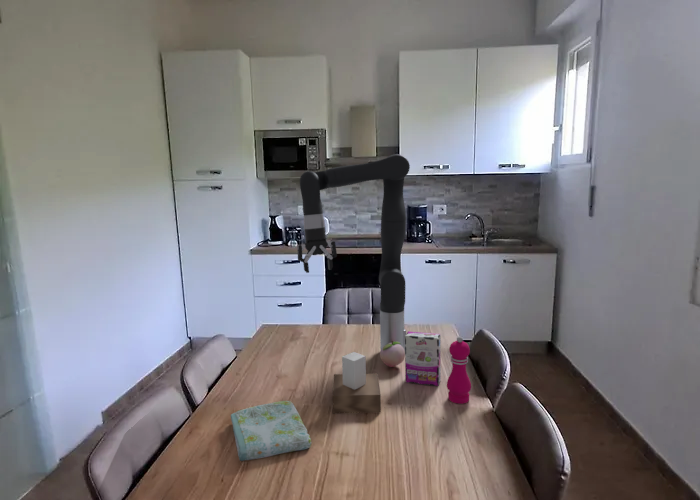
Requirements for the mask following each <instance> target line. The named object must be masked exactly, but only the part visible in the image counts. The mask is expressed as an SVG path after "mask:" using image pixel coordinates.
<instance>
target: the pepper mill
mask: <svg viewBox="0 0 700 500" xmlns="http://www.w3.org/2000/svg"><path fill="white" fill-rule="evenodd" d="M448 350H449V353H450V355H451V356H450V362H451V363H452V368H451V372H450V373H449V375H448V378H447V381H446V387H447V390H448V393H447V395H448V396H447V397H448V400H449V401H450V402H452V403H453V404H459V405H461V404H463V405H464V404H467V403H468V402H469V401H470V391H471V390H472V382H471V380H470V377H469V374H468V373H467V364H468V363H469V357H468V356H469V355H470V353H471V349H470V345H469V344H468V343H467V342H465V341H464V339H463V337H462V336H458V337H456V340H455V341H452V342H451V343H450V345H449V349H448Z"/></svg>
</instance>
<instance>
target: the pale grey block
mask: <svg viewBox="0 0 700 500" xmlns="http://www.w3.org/2000/svg"><path fill="white" fill-rule="evenodd" d="M366 362H367V361H366V355H363V354H361V353H358V352H356V351H352V352H350V353H348V354H345V355H343V356H341V363H342V365H341V369H342V371H341V372H342V374H343V385H345V386H347V387H349V388H352V389H354V390H355V389H357V388H359V387H361V386H363V385H365V384H366V374H367V370H366V369H367V368H366V364H367V363H366Z"/></svg>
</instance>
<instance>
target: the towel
mask: <svg viewBox="0 0 700 500" xmlns="http://www.w3.org/2000/svg"><path fill="white" fill-rule="evenodd" d="M296 408H297V407H296V406H295V404H294V403H293V402H292V401H291V400H279V401H275V402H269V403H264V404H259V405H255V406H250V407H247V408H244V409H238V410H237V411H235V412H233V413H231V414H230V420H231V424H232V430H233V431H232V432H233V435H234V439H235V440H234V441H235V446H236V450H237V456H238V459H239V461H240V462H243V461H251V460H256V459H263V458H267V457H272V456H277V455H280V454H285V453H286V454H287V453H292V452H296V451H297V452H298V451H304V450H308V449H309V448H311V447H312V439H311V435H310V434H309V433H308V429H307V428H306V426H305V425H304V422H303V420H302V417H301V416H300V414H299V411H298V410H297V409H296Z"/></svg>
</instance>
